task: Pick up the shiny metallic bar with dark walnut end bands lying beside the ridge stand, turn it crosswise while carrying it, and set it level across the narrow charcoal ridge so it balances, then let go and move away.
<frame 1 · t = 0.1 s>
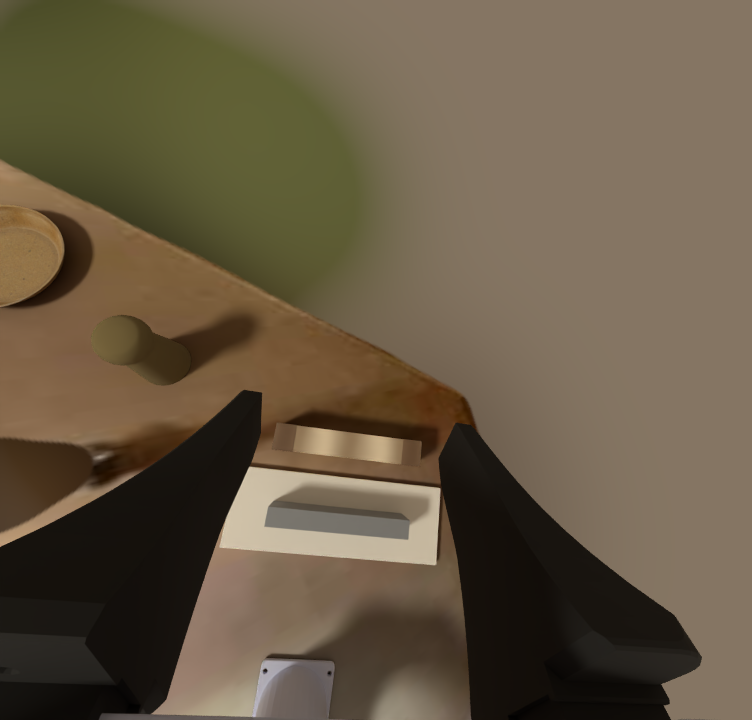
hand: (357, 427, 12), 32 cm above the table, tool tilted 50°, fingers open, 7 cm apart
ridge stand: (337, 514, 40), on the table
plant saucer: (15, 266, 42), on the table
shiny metallic bar: (347, 445, 42), on the table
pepper mill: (166, 363, 42), on the table
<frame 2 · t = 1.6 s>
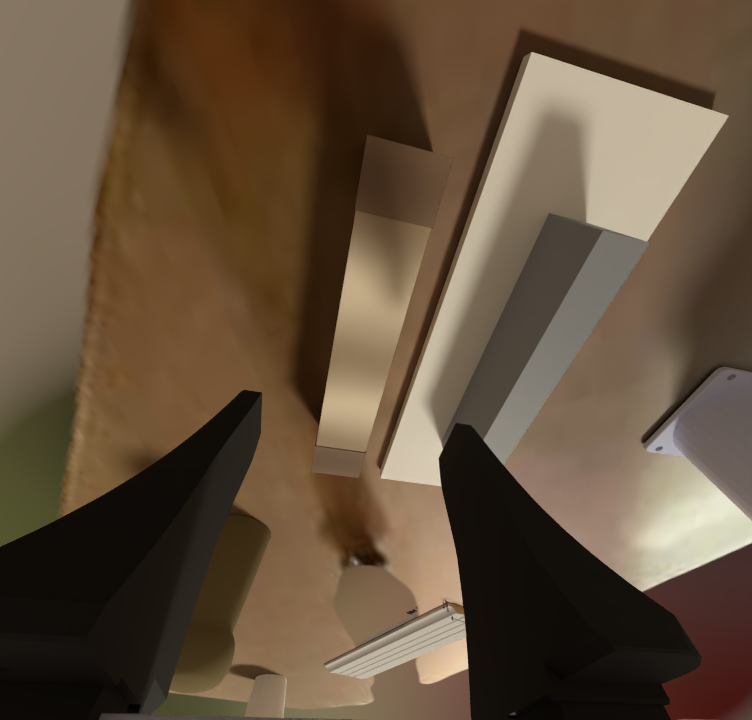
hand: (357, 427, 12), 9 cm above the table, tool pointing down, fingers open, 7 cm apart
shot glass: (271, 677, 58), on the table
ridge stand: (494, 348, 20), on the table
baseboard: (395, 635, 49), on the table
shiny metallic bar: (363, 323, 19), on the table
pepper mill: (240, 530, 32), on the table
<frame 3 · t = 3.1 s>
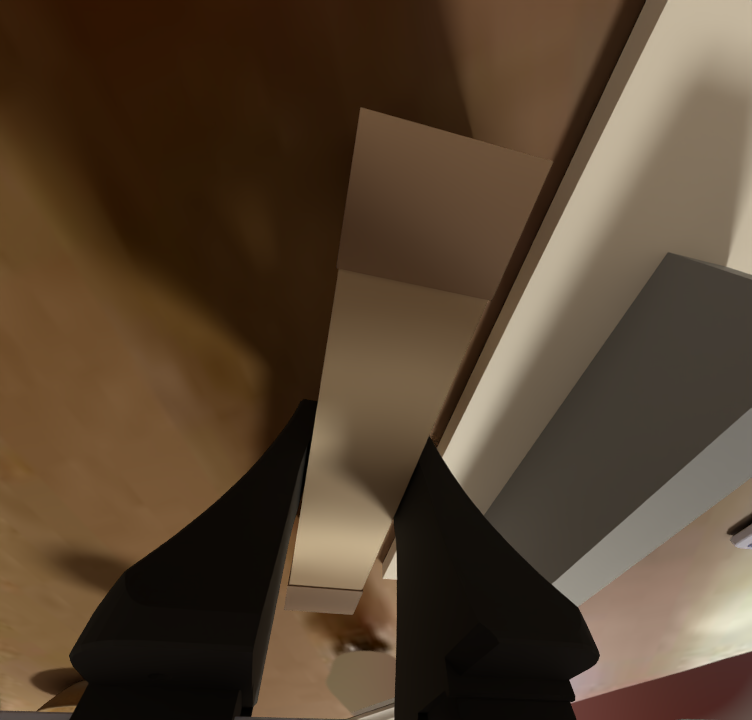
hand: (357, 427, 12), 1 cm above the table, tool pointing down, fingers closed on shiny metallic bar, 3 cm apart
ridge stand: (546, 432, 14), on the table
plant saucer: (129, 687, 36), on the table
baseboard: (398, 703, 43), on the table
shiny metallic bar: (358, 403, 13), on the table, touching gripper
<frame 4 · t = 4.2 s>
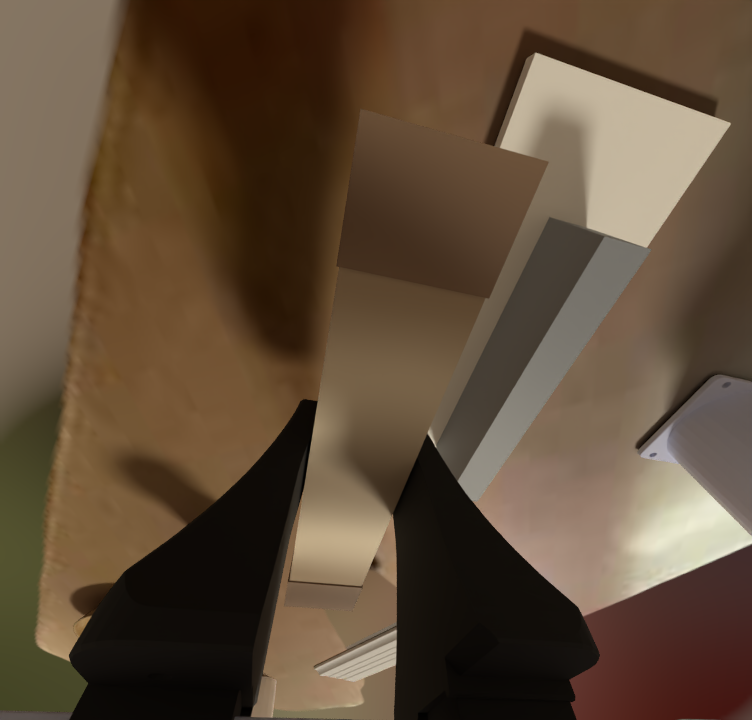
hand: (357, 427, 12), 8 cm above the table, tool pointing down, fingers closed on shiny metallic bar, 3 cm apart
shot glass: (260, 679, 58), on the table
ridge stand: (491, 352, 20), on the table
baseboard: (386, 638, 49), on the table
shiny metallic bar: (358, 401, 13), point 7 cm above the table, touching gripper
when the fingers open (7 cm above the table, at t = 5.6 s): shiny metallic bar stays where it is, resting on ridge stand.
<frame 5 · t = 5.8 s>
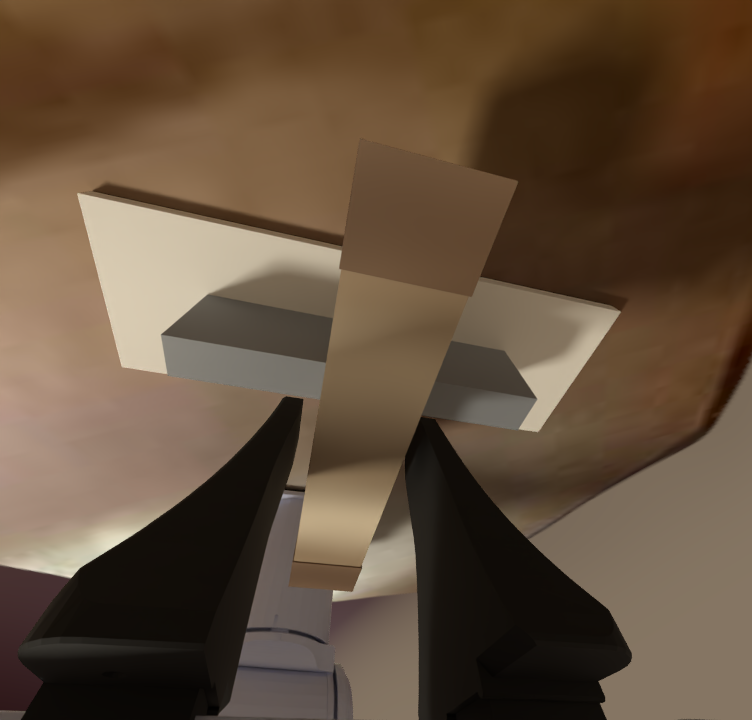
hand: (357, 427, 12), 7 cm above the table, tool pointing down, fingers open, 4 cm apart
ridge stand: (361, 333, 18), on the table
shiny metallic bar: (358, 393, 14), point 5 cm above the table, touching ridge stand
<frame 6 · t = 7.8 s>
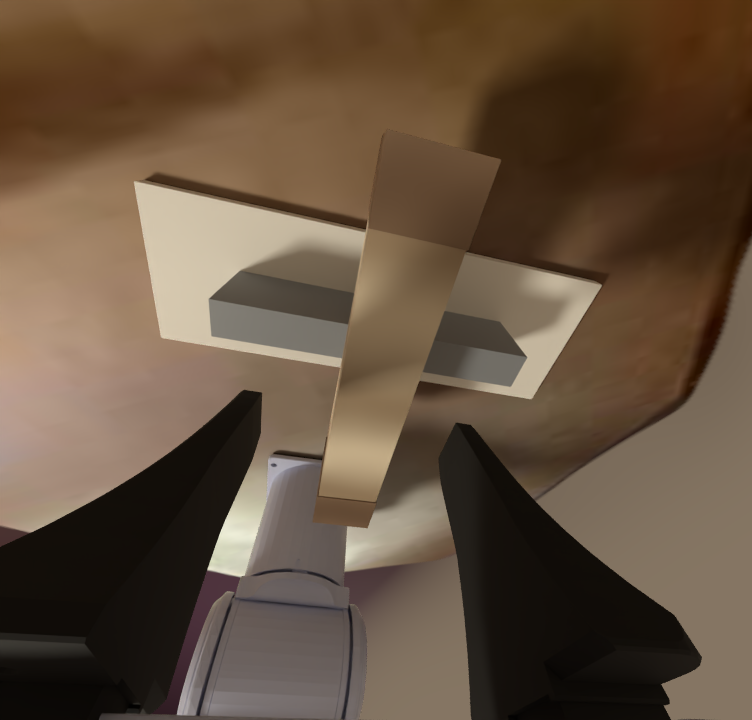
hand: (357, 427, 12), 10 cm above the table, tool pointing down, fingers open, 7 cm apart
ridge stand: (373, 307, 20), on the table
shiny metallic bar: (372, 352, 16), point 5 cm above the table, touching ridge stand
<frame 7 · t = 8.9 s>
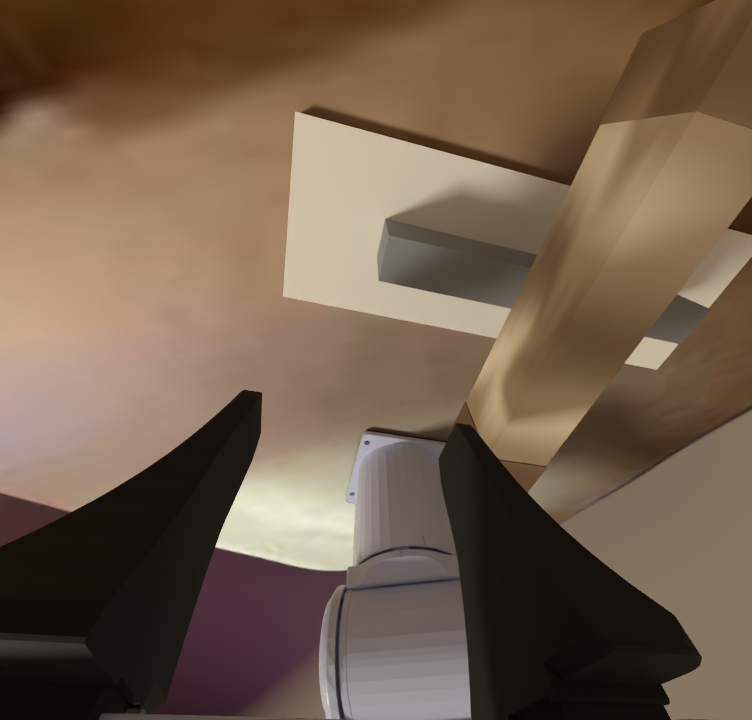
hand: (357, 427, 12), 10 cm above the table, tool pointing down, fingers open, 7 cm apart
ridge stand: (510, 264, 19), on the table
shiny metallic bar: (546, 302, 15), point 5 cm above the table, touching ridge stand
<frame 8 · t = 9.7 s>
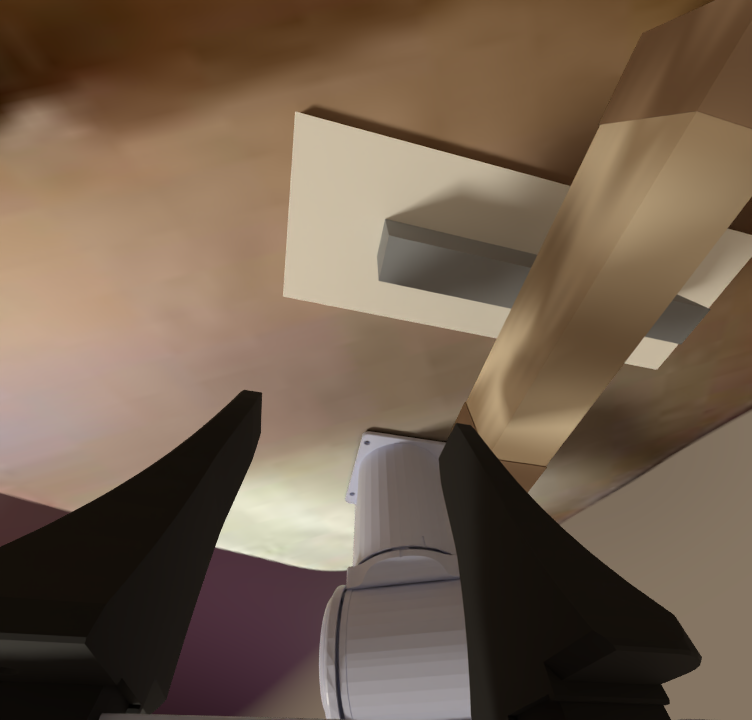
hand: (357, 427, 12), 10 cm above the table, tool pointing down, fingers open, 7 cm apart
ridge stand: (510, 264, 19), on the table
shiny metallic bar: (546, 302, 15), point 5 cm above the table, touching ridge stand
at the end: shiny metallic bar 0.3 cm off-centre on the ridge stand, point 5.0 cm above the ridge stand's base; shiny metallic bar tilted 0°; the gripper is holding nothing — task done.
